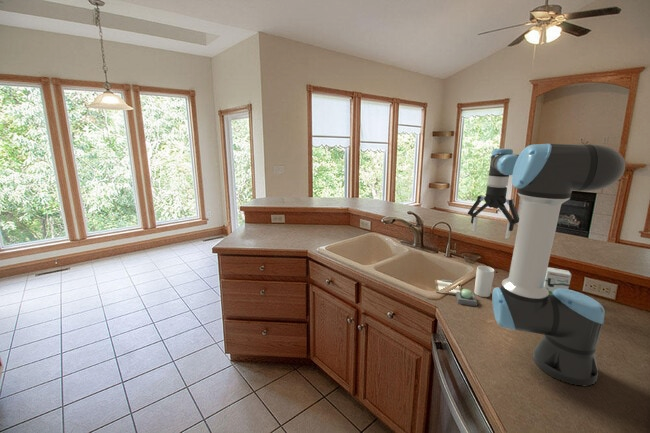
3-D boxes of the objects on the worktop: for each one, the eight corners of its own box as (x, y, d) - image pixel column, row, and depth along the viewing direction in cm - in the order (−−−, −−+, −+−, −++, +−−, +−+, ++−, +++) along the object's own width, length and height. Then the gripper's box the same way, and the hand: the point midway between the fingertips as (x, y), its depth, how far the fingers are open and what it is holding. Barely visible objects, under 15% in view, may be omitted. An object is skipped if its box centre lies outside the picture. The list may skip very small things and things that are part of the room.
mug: (484, 299, 130) (488, 273, 127) (470, 292, 135) (473, 267, 133) (498, 293, 134) (502, 268, 132) (484, 287, 140) (488, 263, 137)
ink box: (542, 295, 134) (547, 270, 131) (540, 290, 138) (545, 266, 135) (566, 300, 130) (572, 274, 127) (564, 295, 134) (569, 270, 131)
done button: (472, 300, 125) (473, 294, 125) (461, 298, 126) (462, 292, 126) (470, 295, 129) (471, 289, 128) (460, 294, 130) (461, 288, 129)
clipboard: (463, 296, 131) (463, 293, 131) (436, 292, 134) (436, 290, 134) (459, 283, 144) (459, 281, 143) (434, 280, 147) (435, 278, 146)
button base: (476, 306, 124) (477, 301, 123) (457, 303, 126) (458, 299, 125) (473, 298, 130) (473, 293, 130) (455, 295, 132) (456, 291, 132)
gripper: (534, 188, 121) (525, 239, 126) (470, 182, 139) (465, 226, 144) (528, 190, 116) (519, 243, 121) (463, 183, 134) (458, 229, 139)
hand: (489, 234), depth 133 cm, fingers open, 13 cm apart
